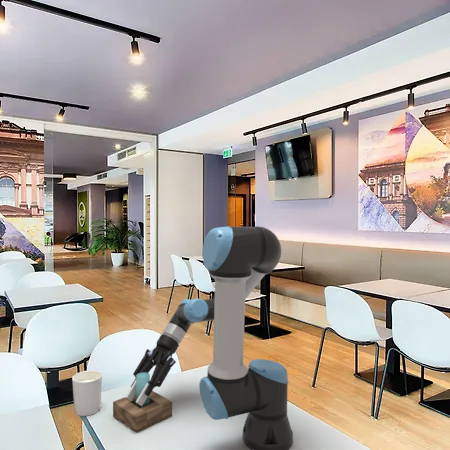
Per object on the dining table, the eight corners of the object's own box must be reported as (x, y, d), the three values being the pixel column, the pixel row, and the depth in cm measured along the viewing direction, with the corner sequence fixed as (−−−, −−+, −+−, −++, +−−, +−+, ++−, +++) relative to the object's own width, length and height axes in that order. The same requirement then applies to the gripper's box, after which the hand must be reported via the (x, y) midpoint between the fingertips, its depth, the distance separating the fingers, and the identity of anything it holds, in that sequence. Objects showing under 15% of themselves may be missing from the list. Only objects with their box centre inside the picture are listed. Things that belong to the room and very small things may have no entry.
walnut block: (172, 416, 130) (172, 401, 130) (136, 433, 120) (136, 417, 120) (147, 401, 140) (147, 388, 140) (113, 416, 130) (113, 401, 130)
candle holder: (92, 419, 128) (92, 383, 128) (66, 415, 130) (66, 380, 130) (107, 404, 138) (107, 371, 138) (82, 401, 140) (82, 369, 139)
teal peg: (152, 410, 130) (152, 375, 130) (141, 415, 127) (141, 379, 127) (144, 405, 133) (144, 371, 133) (133, 410, 130) (133, 375, 130)
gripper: (193, 350, 136) (157, 415, 124) (159, 339, 147) (123, 398, 135) (183, 338, 132) (144, 405, 119) (148, 328, 143) (110, 388, 130)
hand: (133, 401), depth 127 cm, fingers open, 5 cm apart
